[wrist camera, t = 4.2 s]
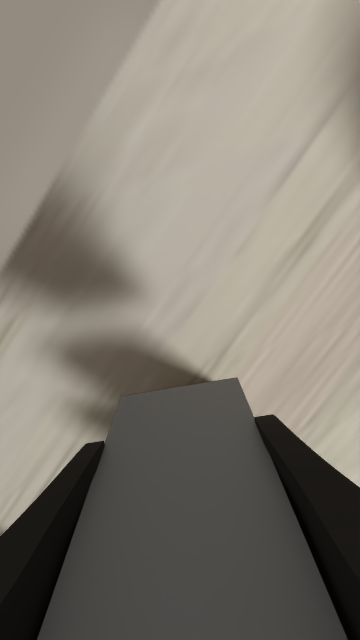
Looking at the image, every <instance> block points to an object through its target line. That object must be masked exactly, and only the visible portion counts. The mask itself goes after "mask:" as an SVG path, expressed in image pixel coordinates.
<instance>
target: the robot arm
mask: <svg viewBox="0 0 360 640" xmlns="http://www.w3.org/2000/svg"><path fill="white" fill-rule="evenodd" d="M254 419H255V424H256V426H257V429H258V431H259V433H260V436H261V438H262V441H263V443H264V445H265V447H266V449H267V451H268V453H269V454H270V456H271V459H272V461H273V464H274V466H275V468H276V471H277V473H278V475H279V478H280V480H281V483H282V485H283V487H284V490H285V492H286V494H287V497H288V499H289V501H290V504H291V506H292V509H293V511H294V513H295V516H296V518H297V520H298V523H299V525H300V528H301V530H302V532H303V535H304V537H305V539H306V542H307V544H308V547H309V549H310V551H311V554H312V556H313V558H314V561H315V563H316V566H317V568H318V570H319V573H320V575H321V577H322V580H323V582H324V585H325V587H326V589H327V592H328V594H329V596H330V599H331V601H332V604H333V606H334V608H335V611H336V613H337V615H338V618H339V620H340V622H341V625H342V627H343V630H344V632H345V634H346V637H347V639H348V640H360V487H358V486H357V485H356V484H354V483H353V482H352V481H350V480H349V479H348V478H346V477H345V476H344V475H343V474H341V473H340V472H339V471H337V470H336V469H335V468H334V467H332V466H331V465H330V464H329V463H327V462H326V461H325V460H324V459H323V458H321V457H320V456H319V455H318V454H317V453H315V452H314V451H313V450H312V449H311V448H310V447H308V446H307V445H306V444H305V443H304V442H303V441H302V440H300V439H299V438H298V437H297V436H296V435H295V434H294V433H293V432H292V431H291V430H290V429H289V428H287V427H286V426H285V425H284V424H283V423H282V422H281V421H280V420H279V419H278V418H277V417H276V416H274V415H273V414H272V415H266V416H259V417H254ZM104 447H105V444H104V441H100V442H93V443H87V444H85V445H84V446H83V447H82V448H81V449H80V451H79V452H78V453H77V454H76V455H75V456H74V457H73V458H72V460H71V461H70V462H69V463H68V464H67V465H66V466H65V468H64V469H63V470H62V471H61V472H60V473H59V474H58V476H57V477H56V478H55V479H54V480H53V481H52V482H51V483H50V485H49V486H48V487H47V488H46V489H45V490H44V491H43V492H42V493H41V495H40V496H39V497H38V498H37V499H36V500H35V501H34V502H33V503H32V504H31V505H30V506H29V507H28V508H27V509H26V511H25V512H24V513H23V514H22V515H21V516H20V517H19V518H18V519H17V520H16V521H15V522H14V523H13V524H12V525H11V526H10V527H9V528H8V529H7V530H6V531H5V532H4V533H3V534H2V535H1V536H0V640H37V638H38V636H39V633H40V630H41V627H42V624H43V621H44V618H45V615H46V612H47V609H48V607H49V604H50V601H51V598H52V595H53V592H54V589H55V586H56V583H57V581H58V578H59V575H60V572H61V569H62V566H63V563H64V560H65V557H66V554H67V552H68V549H69V546H70V543H71V540H72V537H73V534H74V531H75V528H76V525H77V523H78V520H79V517H80V514H81V511H82V508H83V505H84V502H85V499H86V496H87V494H88V491H89V488H90V485H91V482H92V480H93V477H94V475H95V473H96V471H97V468H98V465H99V462H100V459H101V456H102V453H103V450H104Z"/></svg>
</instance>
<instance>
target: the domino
mask: <svg viewBox="0 0 360 640" xmlns="http://www.w3.org/2000/svg"><path fill="white" fill-rule="evenodd" d="M37 640H348V639H347V637H346V634H345V632H344V630H343V627H342V625H341V622H340V620H339V618H338V615H337V613H336V611H335V608H334V606H333V604H332V601H331V599H330V596H329V594H328V592H327V589H326V587H325V585H324V582H323V580H322V577H321V575H320V573H319V570H318V568H317V566H316V563H315V561H314V558H313V556H312V554H311V551H310V549H309V547H308V544H307V542H306V539H305V537H304V535H303V532H302V530H301V528H300V525H299V523H298V520H297V518H296V516H295V513H294V511H293V509H292V506H291V504H290V501H289V499H288V497H287V494H286V492H285V490H284V487H283V485H282V483H281V480H280V478H279V475H278V473H277V471H276V468H275V466H274V464H273V461H272V459H271V456H270V454H269V453H268V451H267V449H266V447H265V445H264V443H263V441H262V438H261V436H260V433H259V431H258V429H257V426H256V424H255V419H254V416H253V414H252V411H251V409H250V407H249V404H248V402H247V399H246V397H245V395H244V392H243V390H242V388H241V385H240V383H239V380H238V378H237V377H236V378H230V379H224V380H218V381H212V382H206V383H199V384H193V385H187V386H181V387H175V388H169V389H162V390H156V391H150V392H144V393H138V394H131V395H125V396H121V398H120V401H119V404H118V407H117V410H116V412H115V415H114V418H113V421H112V424H111V427H110V430H109V433H108V436H107V438H106V441H105V447H104V450H103V453H102V456H101V459H100V462H99V465H98V468H97V471H96V473H95V475H94V477H93V480H92V482H91V485H90V488H89V491H88V494H87V496H86V499H85V502H84V505H83V508H82V511H81V514H80V517H79V520H78V523H77V525H76V528H75V531H74V534H73V537H72V540H71V543H70V546H69V549H68V552H67V554H66V557H65V560H64V563H63V566H62V569H61V572H60V575H59V578H58V581H57V583H56V586H55V589H54V592H53V595H52V598H51V601H50V604H49V607H48V609H47V612H46V615H45V618H44V621H43V624H42V627H41V630H40V633H39V636H38V638H37Z"/></svg>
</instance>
